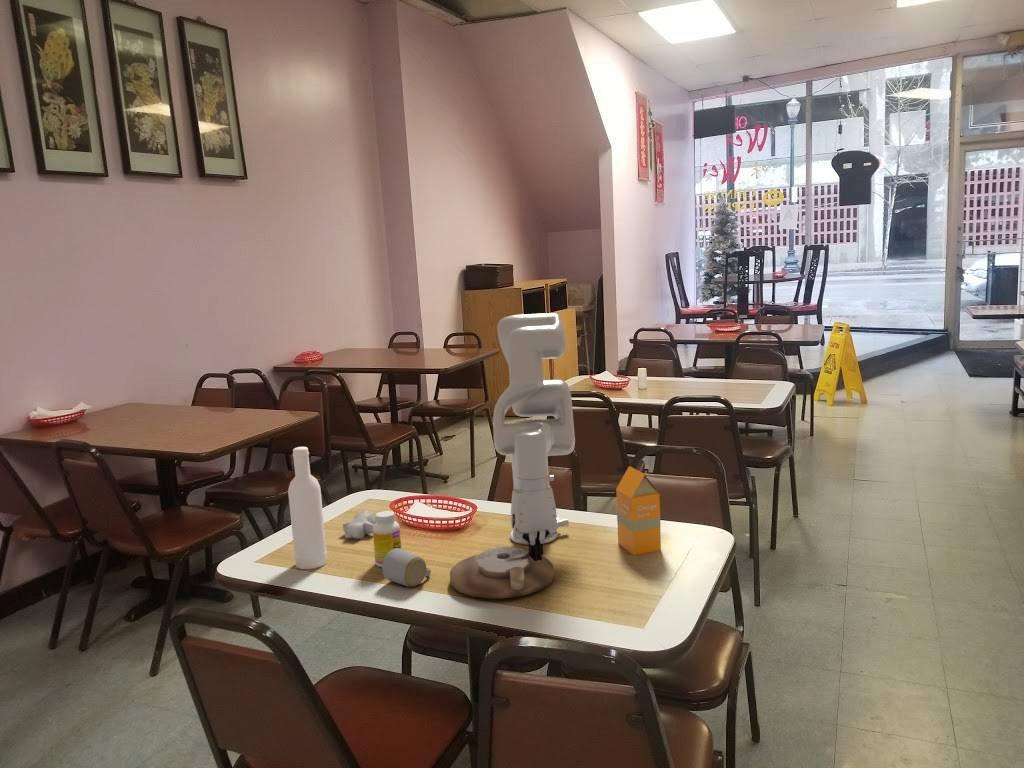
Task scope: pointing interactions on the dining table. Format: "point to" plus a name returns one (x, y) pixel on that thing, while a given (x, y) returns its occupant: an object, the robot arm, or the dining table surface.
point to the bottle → (306, 514)
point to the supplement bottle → (385, 535)
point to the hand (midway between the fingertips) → (536, 558)
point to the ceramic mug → (404, 568)
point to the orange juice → (638, 513)
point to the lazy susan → (519, 583)
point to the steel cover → (502, 562)
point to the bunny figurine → (360, 525)
